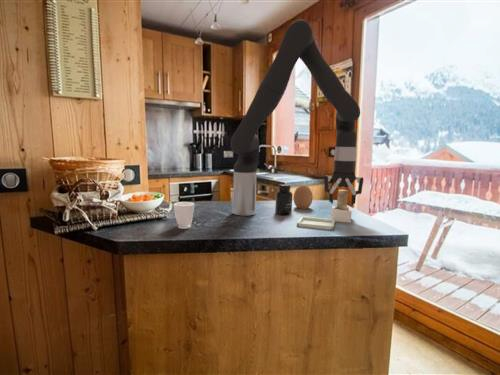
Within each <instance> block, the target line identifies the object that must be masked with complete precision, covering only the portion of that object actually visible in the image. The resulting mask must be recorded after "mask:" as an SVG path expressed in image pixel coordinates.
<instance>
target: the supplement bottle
mask: <svg viewBox="0 0 500 375" xmlns="http://www.w3.org/2000/svg"><path fill="white" fill-rule="evenodd" d="M274 205H275V206H274V207H275V208H274V210H275V211H274V212H275V214H276V215H278V216H289V215H290V214H292V212H293V209H292V208H293V192H292V191H291V185H290V184H283V183H281V184H278V191H276V193H275V204H274Z"/></svg>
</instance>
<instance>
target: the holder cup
mask: <svg viewBox="0 0 500 375" xmlns="http://www.w3.org/2000/svg"><path fill="white" fill-rule="evenodd" d="M330 211H331V212H330V214H331V215H330V219H335V222H339V223H340V222H343V223H352V211H353V210H352V207H350V206H347V210H338V209H337V205H332V206H331V210H330Z"/></svg>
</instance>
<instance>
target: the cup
mask: <svg viewBox="0 0 500 375" xmlns="http://www.w3.org/2000/svg"><path fill="white" fill-rule="evenodd" d="M172 206H173V210H174V215H175V220H176V224H177V225H178V226H177V228H178V229H183V230H185V229H190V228H191V227H192V222H193V218H194V212H195V211H194V210H195V206H196V205H195V202H192V201H191V202H190V201H180V202H179V201H178V202H175V203H173V205H172Z"/></svg>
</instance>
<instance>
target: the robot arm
mask: <svg viewBox="0 0 500 375" xmlns="http://www.w3.org/2000/svg"><path fill="white" fill-rule="evenodd" d="M313 32H314V31H313V29H312V27H311V24H310V23H309V22H307V21H306V20H304V19H297V20H295V21H293V22H292V23H290V24H289V25H288V26H287V28H286V31H285V33H284V36H283V39H282V41H281V44H280V46H279V49H278V50H277V53H276V55H275V57H274V59H273V61H272V62H271V64H270V66H269V68H268V70H267V72H266V73H265V75H264V77H263V79H262V81H261V82H260V84H259V87H258V89H257V91H256V92H255V95H254V98H253V99H252V101H251V103H250V105H249V107H248V109H247V111H246V113H245V115H244V117H243V118H242V120H241V121H240V123H239V125H238V127H237V128H236V130H235V131H234V132H233V134H232V137H231V139H230V148H231V151H232V152H233V153H234V154H235V155H237V160H236V162H235V163H234V165H233V190H231V214H233V215H236V216H242V217H243V216H252V215H253V216H254V215H255V214H257V213H256V212H257V169H258V168H257V167H258V165H259V159H260V139H259V137H258V135H257V133H258V131H259V129H260V128H261V126H262V124H263V123H264V122H265V121H267V119H268V118H269V116H271V114H272V113H273V112H274V111H275V110H276V108H277V107H278V106H279V104H280V102H281V100H282V98H283V96H284V94H285V93H286V90H287V87H288V84H289V81H290V79H291V75H292V72H293V70H294V67H295V65H296V63H297V62H298V60H299V59H300V60H301V61H302V62H303V64H304V65H305V66H306V68H307V69H308V71H309V72H310V75H311V76H312V78H313V79H314V82H315V84H316V85H317V87H318V89H319V90H320V92H321V94H322V95H323V97H324V98H325V99H326V101H327V102H328V103H329V104H331V105H332V106H333V107H334V109H335V110H336V114H335V128H336V129H335V130H336V138H335V149H334V157H333V173H332V175H325V176H324V191H325V192H327V193H328V194H329V198H328V200H329V203H330V204H331V205H333V204H334V197H335V196H334V192H335V190H336V189H337V188H349V190H350V192H351V193H352V194H351V201H350V202H351V203H350V205H351V206H354V204H355V205H356V197H357V196H358V195H362V192H363V191H362V190H363V186H364V176H363V177H362V176H361V177H359V176H356V162H357V160H356V159H357V133H356V131H355V127H356V125H355V123H356V121H357V120H358V119H359V118H360V115H361V109H360V106H359V104H358V103H357V101H356V100H355V99H354V98H353V96H352V95H351V94H350V93H349V92H348V91H347V90H346V89H345V87H344V85H343V83H342V82H341V80H340V79H339V77H338V75H337V74H336V73H335V71H334V70H333V68H331V67H330V65H329V64H328V63H327V61H326V60H325V59H324V56H322V54H321V52H320V50H319V48H318V46H317V44H316V41H315V38H314V34H313ZM331 179H332V181H333V182H334V184H333V185H332V187H331V189H330V188H329V182H331ZM355 181H357V182H356V183H357V184H358V188H357V190H355V188H354V185H353V183H354V182H355Z"/></svg>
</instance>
